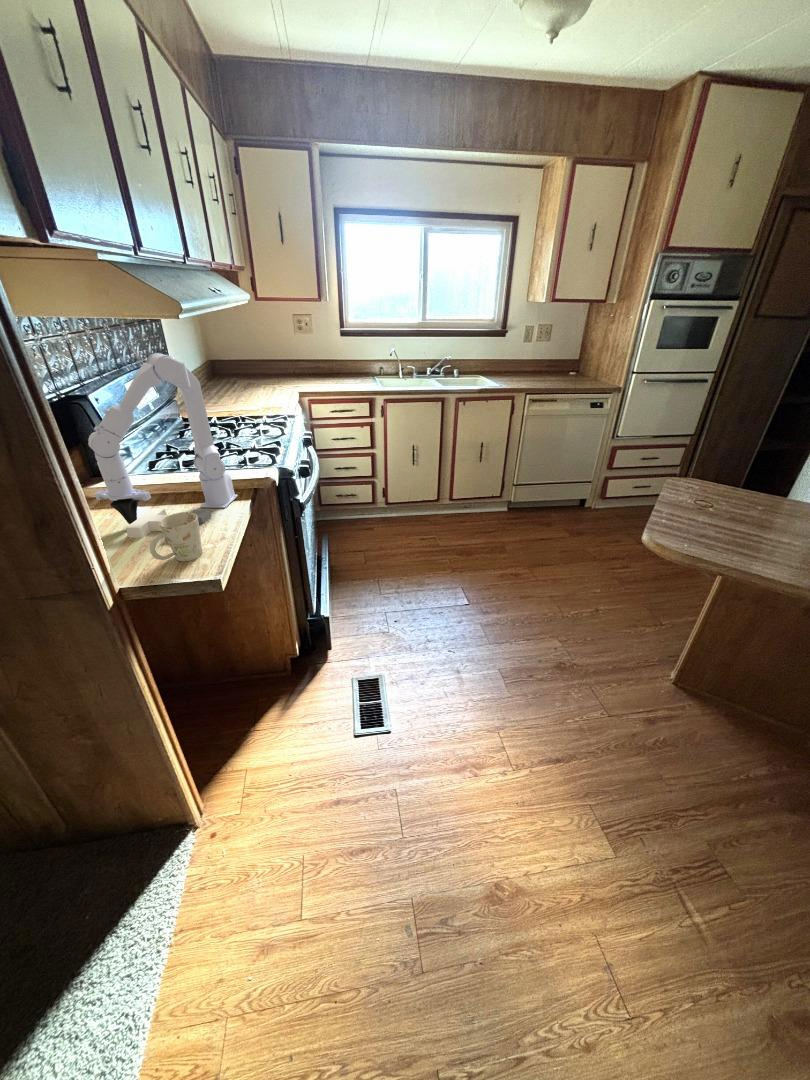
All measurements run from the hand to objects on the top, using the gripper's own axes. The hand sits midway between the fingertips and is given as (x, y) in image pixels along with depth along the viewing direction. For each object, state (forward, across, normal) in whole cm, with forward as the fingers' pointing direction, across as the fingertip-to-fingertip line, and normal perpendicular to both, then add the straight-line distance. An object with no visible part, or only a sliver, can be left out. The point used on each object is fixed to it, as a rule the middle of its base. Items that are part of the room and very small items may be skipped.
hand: (132, 522), depth 120 cm
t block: (+1, +7, 0) cm, 8 cm away
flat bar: (+1, +17, 0) cm, 17 cm away
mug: (+2, +23, -16) cm, 28 cm away
